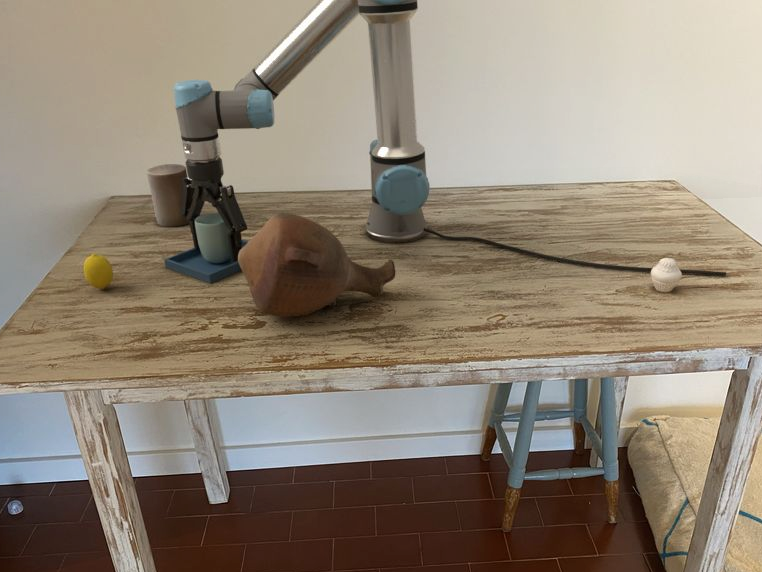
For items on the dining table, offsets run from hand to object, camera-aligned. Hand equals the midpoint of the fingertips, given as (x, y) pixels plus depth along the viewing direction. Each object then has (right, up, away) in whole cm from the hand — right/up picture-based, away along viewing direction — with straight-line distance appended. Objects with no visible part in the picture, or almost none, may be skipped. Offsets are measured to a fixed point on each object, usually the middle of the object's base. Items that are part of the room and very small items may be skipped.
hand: (218, 253), depth 161 cm
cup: (0, -2, +1) cm, 2 cm away
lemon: (-21, -9, -11) cm, 26 cm away
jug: (+26, -14, -19) cm, 35 cm away
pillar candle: (-18, +12, +25) cm, 33 cm away
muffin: (+97, -9, -13) cm, 98 cm away
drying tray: (0, -2, +1) cm, 2 cm away
